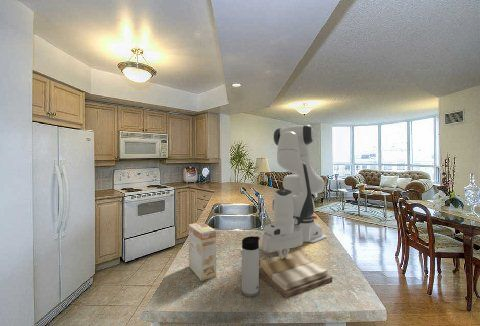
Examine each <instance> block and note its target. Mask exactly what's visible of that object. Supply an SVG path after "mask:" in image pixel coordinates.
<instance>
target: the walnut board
mask: <svg viewBox="0 0 480 326" xmlns="http://www.w3.org/2000/svg"><path fill="white" fill-rule="evenodd" d="M260 277H261V279H263V281H265V282H266V283H268V284H269V285H270V286H271V287H272V288H273V289H274V290H276V291H277V292H278V293H280V294H281V295H282V296H283V297H284V298H286V299H287V298H288V297H291V296H294V295H296V294H300V293H302V292H303V293H304V292H305V291H309V290H311V289H314V288H316V287H319V286H321V285H324V284H326V283H329V282H332V281H333V278H334V277H333V276H332V275H330V274H328V273H327V276H324V277H321V278H318V279H316V280H313V281H310V282H307V283H304V284H301V285H299V286H296V287H293V288H290V289H287V290H284V289H283V288H281V287H280V286H279V285H278V284H276V283H275V282H274V281H273V280H272V278H270V277H269V276H268V275H267V273H266V272H265V271H264V270H263V268H262V267H261V266H260V267H259V278H260Z"/></svg>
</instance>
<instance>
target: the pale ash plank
mask: <svg viewBox="0 0 480 326" xmlns="http://www.w3.org/2000/svg"><path fill="white" fill-rule="evenodd" d="M311 262H312V263H309V264H305V265H302V266H299V267H295V268H292V269H289V270H285V271H282V272H279V273H275V274H272V280H273V281H274V282H275V283H276V284H278V285H279V286H280V287H281V288H283V289H284V290H287V289H290V288H293V287H296V286H299V285H301V284H304V283H307V282H310V281H313V280H316V279H318V278H321V277H324V276H327V274H328V270H327V269H326V268H324V267H322V266H320V265H318V264H316V263H314V262H313V261H311Z"/></svg>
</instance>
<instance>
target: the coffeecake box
mask: <svg viewBox="0 0 480 326" xmlns="http://www.w3.org/2000/svg"><path fill="white" fill-rule="evenodd" d="M188 267H189V268H190V270H192V272H193V274H195V276H197V279H199V280H200V281H201V282H203V281H207V280H209V279H213V278H216V277H217V230H216V229H215V228H213V227H211V226H209V225H207V224H206V223H204V222H195V223H189V224H188Z"/></svg>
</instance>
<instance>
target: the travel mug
mask: <svg viewBox="0 0 480 326" xmlns="http://www.w3.org/2000/svg"><path fill="white" fill-rule="evenodd" d="M260 239H261V238H260V237H259V236H253V235H252V236H246V237H243V238H242V240H241V248H242V251H241V293H242V294H243V295H244V296H246V297H252V298H253V297H256V296H257V295H258V294H259V291H260V288H259V287H260V286H259V285H260V276H259V268H260V246H259V244H260V242H259V241H260Z"/></svg>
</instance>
